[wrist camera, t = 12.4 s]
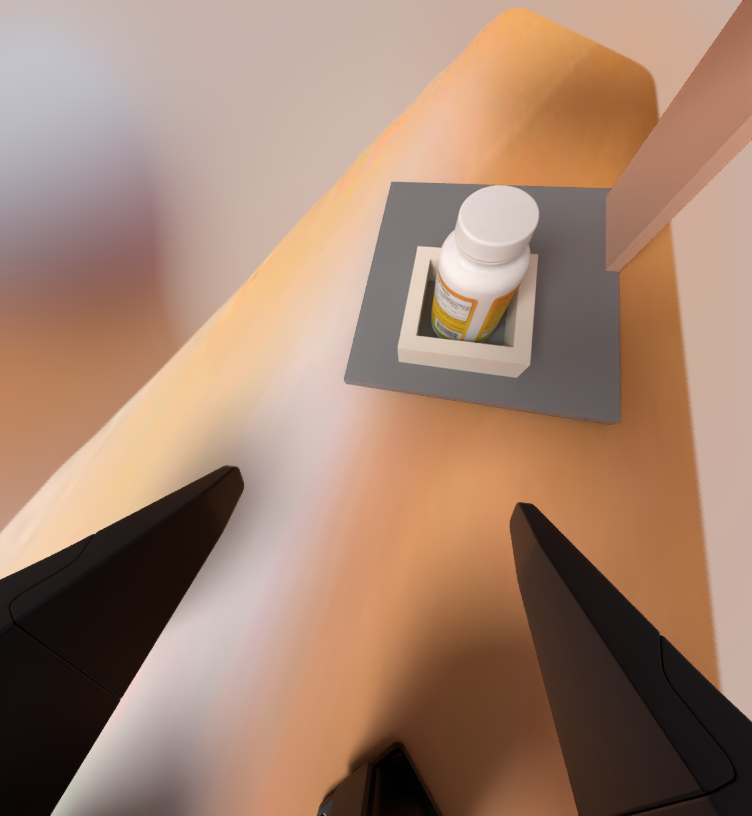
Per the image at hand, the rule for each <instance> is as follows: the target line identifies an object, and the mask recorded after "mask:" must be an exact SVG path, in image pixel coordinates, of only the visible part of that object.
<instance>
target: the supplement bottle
mask: <svg viewBox="0 0 752 816" xmlns="http://www.w3.org/2000/svg"><path fill="white" fill-rule="evenodd" d="M538 220H539V209H538V206H537V204H536V202H535V200H534V199H533V198H532V197H531V196H530V195H529V194H527V193H526V192H524V191H523V190H521V189H518V188H515V187H512V186H505V185H494V186H489V187H485V188H482V189H480V190H478V191H476V192H474V193H473V194H471V195H470V196H469V197H468V198H467V199H466V200H465V201H464V202H463V204H462V206H461V208H460V211H459V214H458V219H457V223H456V227H455V230H454V231H453V232H451V233H450V235H449V236H448V237H447V238H446V240H445V241H444V243H443V245H442V248H441V251H440V255H439V260H438V268H437V276H436V284H435V291H434V299H433V306H432V314H431V323H432V327H433V330H434V331H435V333H436V334H437V336H438V337H439V338H440V339H448V340H457V341H465V342H473V343H482V342H483V341H485V340H486V339H487V338H488V337H490V335H491V334H492V333H493V331H494V330H495V328H496V326H497V324H498V323H499V321H500V319H501V317H502V315H503V314H504V312H505V310H506V308H507V307H508V305H509V303H510V301H511V300H512V298H513V296H514V294H515V293H516V291H517V289H518V287H519V286H520V284H521V282H522V280H523V278H524V276H525V274H526V272H527V270H528V267H529V264H530V257H531V254H530V248H529V242H530V240H531V237H532V235H533V233H534V231H535V229H536V227H537V224H538Z"/></svg>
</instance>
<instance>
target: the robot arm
mask: <svg viewBox="0 0 752 816" xmlns="http://www.w3.org/2000/svg"><path fill="white" fill-rule="evenodd" d="M243 490H244V482H243V479H242V476H241V472H240V470H239V468H238V467H236V466H229V465H226V466H223V467H221V468H219V469H217V470H215V471H214V472H212V473H210V474H208V475H206V476H204V477H202V478H200V479H198V480H196V481H194V482H192V483H190V484H189V485H187V486H185V487H183V488H181V489H179V490H177V491H175V492H173V493H171V494H169V495H167V496H165V497H164V498H162V499H160V500H158V501H156V502H154V503H152V504H150V505H148V506H146V507H144V508H142V509H140V510H139V511H137V512H135V513H133V514H131V515H129V516H127V517H125V518H123V519H121V520H119V521H117V522H115V523H113V524H112V525H110V526H108V527H106V528H104V529H102V530H100V531H98V532H97V533H96V534H92V535H90V536H88V537H86V538H85V539H83V540H81V541H79V542H77V543H75V544H73V545H71V546H69V547H67V548H65V549H63V550H61V551H59V552H57V553H55V554H53V555H51V556H49V557H47V558H45V559H43V560H41V561H39V562H37V563H35V564H32V565H30V566H28V567H26V568H24V569H22V570H20V571H18V572H16V573H13V574H11V575H9V576H7V577H5V578H3V579H1V580H0V816H50V815H51V814H52V812H53V810H54V809H55V807H56V805H57V804H58V802H59V800H60V799H61V797H62V795H63V794H64V792H65V791H66V789H67V787H68V786H69V784H70V782H71V781H72V779H73V777H74V776H75V774H76V773H77V771H78V769H79V768H80V766H81V764H82V763H83V761H84V759H85V758H86V756H87V755H88V753H89V751H90V750H91V748H92V746H93V745H94V743H95V741H96V740H97V738H98V736H99V735H100V733H101V732H102V730H103V728H104V727H105V725H106V723H107V722H108V720H109V718H110V717H111V715H112V714H113V712H114V710H115V709H116V707H117V705H118V704H119V702H120V699H121V698H122V697H123V695H124V694H125V692H126V690H127V689H128V687H129V685H130V684H131V682H132V680H133V679H134V677H135V676H136V674H137V672H138V671H139V669H140V667H141V666H142V664H143V662H144V661H145V659H146V658H147V656H148V654H149V653H150V651H151V649H152V648H153V646H154V644H155V643H156V641H157V639H158V638H159V636H160V635H161V633H162V631H163V630H164V628H165V626H166V625H167V623H168V621H169V620H170V618H171V617H172V615H173V613H174V612H175V610H176V608H177V607H178V605H179V603H180V602H181V600H182V599H183V597H184V595H185V594H186V592H187V590H188V589H189V587H190V585H191V584H192V582H193V580H194V579H195V577H196V576H197V574H198V572H199V571H200V569H201V567H202V566H203V564H204V562H205V561H206V559H207V558H208V556H209V554H210V553H211V551H212V549H213V548H214V546H215V544H216V543H217V541H218V540H219V538H220V536H221V534H222V533H223V531H224V529H225V527H226V525H227V523H228V521H229V519H230V517H231V515H232V513H233V511H234V509H235V507H236V504H237V502H238V500H239V498H240V496H241V494H242V492H243ZM510 533H511V540H512V546H513V553H514V560H515V566H516V573H517V579H518V584H519V588H520V592H521V596H522V600H523V604H524V607H525V611H526V615H527V619H528V623H529V627H530V630H531V634H532V638H533V642H534V646H535V650H536V653H537V657H538V661H539V665H540V669H541V673H542V676H543V680H544V684H545V688H546V692H547V696H548V699H549V703H550V707H551V711H552V715H553V719H554V722H555V726H556V730H557V734H558V738H559V742H560V745H561V749H562V753H563V757H564V761H565V765H566V768H567V772H568V776H569V780H570V784H571V788H572V791H573V795H574V799H575V803H576V807H577V811H578V815H579V816H752V722H751V721H750V720H749V719H748V718H747V717H746V716H745V715H744V714H743V713H742V712H740V710H739V709H738V708H737V707H735V706H734V705H733V704H732V703H731V702H730V701H729V700H728V699H727V698H726V697H725V696H724V695H723V694H722V693H721V692H720V691H718V690H717V689H716V688H715V687H714V686H713V685H712V684H711V683H710V682H709V681H708V680H707V679H706V678H705V677H704V676H703V675H702V674H701V673H700V672H699V671H698V670H697V669H696V668H695V667H694V666H693V665H692V664H691V663H690V662H689V661H688V660H687V659H686V658H685V657H684V656H683V655H682V654H681V653H680V652H679V651H678V650H677V649H676V648H675V647H674V646H673V645H672V644H671V643H670V642H669V641H668V640H667V639H666V638H665V637H664V636H662V635H660V633H659V631H658V630H657V629H656V628H655V627H654V626H653V625H652V624H651V623H650V622H649V621H648V620H647V619H646V618H645V617H644V616H643V615H642V614H641V613H640V612H639V611H638V610H637V609H636V608H635V607H634V606H633V605H632V604H631V603H630V602H629V601H628V600H627V599H626V598H625V597H624V596H623V595H622V594H621V593H620V592H619V590H618V589H617V588H616V587H615V586H614V585H613V584H612V583H611V582H610V581H609V580H608V579H607V578H606V577H605V576H604V575H603V574H602V573H601V572H600V571H599V570H598V569H597V568H596V567H595V566H594V565H593V564H592V563H591V562H590V561H589V560H588V559H587V558H586V557H585V556H584V555H583V554H582V553H581V552H580V551H579V550H578V549H577V548H576V547H575V546H574V545H573V544H572V543H571V542H570V541H569V540H568V539H567V538H566V537H565V536H564V535H563V534H562V533H561V532H560V531H559V530H558V529H557V528H556V527H555V526H554V525H553V524H552V523H551V522H550V521H549V520H548V519H547V518H546V517H545V516H544V515H543V514H542V513H541V511H540V510H539V509H538V508H537V507H536V506H534V505H533V504H530V503H522V502H518V503H517V504H516V506H515V508H514V511H513V514H512V516H511V519H510ZM397 753H399V754H401V755H402V756H401V757H400V758H398V757H396V755H395V754H397ZM323 813H326V814H327V815H328V816H442V814H441V812H440V811H439V809H438V807H437V805H436V803H435V801H434V800H433V798H432V796H431V794H430V792H429V790H428V788H427V787H426V785H425V783H424V781H423V779H422V777H421V776H420V774H419V772H418V770H417V768H416V766H415V765H414V763H413V761H412V759H411V757H410V755H409V754H408V752H407V750H406V748H405V746H404V745H403V744H402V743H400V742H396V743H394V744H393V745H391V746H390V747H389V748H388V749H387V750H385V751H384V752H383V753H382V754H380V755H379V756H378V757H377V758H376V759H374V760H373V761H368V762H366V763H365V764H364V765H362V766H361V767H360V768H359V769H357V770H356V771H355V772H354V773H353V774H351V775H350V776H349V777H348V778H346V779H345V780H344V781H343V782H341V783H340V784H339V785H338V786H337V787H336V790H335V792H334V793H332V794H331V795H330V796H329V797H328V798H326V799H325V800H324V801H323V802H322V803H321V804H320V806H319V810H318V813H317V816H324V815H323Z"/></svg>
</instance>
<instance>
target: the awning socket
mask: <svg viewBox="0 0 752 816" xmlns="http://www.w3.org/2000/svg"><path fill="white" fill-rule="evenodd" d="M751 140H752V0H742V2H741V3H740V5H739V6H738V8H737V9H736V11H735V12H734V13H733V15H732V16H731V18H730V19H729V21H728V22H727V24H726V25H725V26H724V28H723V29H722V31H721V32H720V34H719V35H718V36H717V38H716V39H715V41H714V42H713V44H712V45H711V47H710V48H709V49H708V51H707V52H706V54H705V55H704V57H703V58H702V59H701V61H700V62H699V64H698V66H697V67H696V68H695V70H694V71H693V73H692V74H691V76H690V77H689V78H688V80H687V81H686V82H685V84H684V85H683V87H682V88H681V90H680V91H679V93H678V94H677V95H676V97H675V99H674V100H673V101H672V103H671V104H670V106H669V107H668V108H667V110H666V111H665V113H664V114H663V116H662V117H661V118H660V120H659V121H658V123H657V124H656V126H655V127H654V129H653V130H652V131H651V133H650V134H649V136H648V137H647V139H646V140H645V141H644V143H643V144H642V146H641V147H640V149H639V150H638V152H637V153H636V154H635V156H634V157H633V159H632V160H631V162H630V163H629V165H628V166H627V167H626V169H625V170H624V172H623V173H622V175H621V176H620V177H619V179H618V180H617V182H616V183H615V185H614V186H613V188H612V189H607V188H575V187H543V186H512V187H515V188H518V189H521V190H523V191H524V192H526V193H527V194H529V195H530V196H531V197H532V198H533V199H534V200H535V202H536V204H537V206H538V209H539V220H538V224H537V227H536V229H535V231H534V233H533V235H532V237H531V240H530V242H529V248H530V254H531V257H530V264H529V267H528V270H527V272H526V274H525V276H524V278H523V280H522V282H521V284H520V286H519V287H518V289H517V291H516V293H515V294H514V296H513V298H512V300H511V301H510V303H509V305H508V307H507V308H506V310H505V312H504V314H503V315H502V317H501V319H500V321H499V323H498V324H497V326H496V328H495V330H494V331H493V333H492V334H491V335H490V337H488V338H487V339H486V340H485V341H483V342H482V343H473V342H465V341H457V340H448V339H440V338H439V337H438V336H437V334H436V333H435V331H434V330H433V327H432V323H431V314H432V306H433V299H434V291H435V284H436V276H437V268H438V260H439V255H440V251H441V248H442V245H443V243H444V241H445V240H446V238H447V237H448V236H449V235H450V233H451V232H453V231H454V230H455V227H456V223H457V219H458V214H459V211H460V208H461V206H462V204H463V202H464V201H465V200H466V199H467V198H468V197H469V196H470V195H471V194H473V193H474V192H476V191H478V190H480V189H482V188H485V187H489V186H494V185H478V184H446V183H413V182H391V186H390V190H389V194H388V198H387V203H386V207H385V211H384V215H383V219H382V223H381V227H380V232H379V236H378V240H377V244H376V248H375V252H374V257H373V261H372V265H371V269H370V273H369V277H368V281H367V286H366V290H365V294H364V298H363V302H362V306H361V310H360V315H359V319H358V323H357V327H356V331H355V335H354V340H353V344H352V348H351V352H350V356H349V360H348V364H347V369H346V373H345V377H344V381H345V382H346V384H352V385H358V386H364V387H371V388H377V389H384V390H390V391H397V392H403V393H410V394H416V395H422V396H429V397H435V398H442V399H448V400H455V401H461V402H468V403H474V404H481V405H487V406H493V407H500V408H506V409H513V410H519V411H526V412H532V413H539V414H545V415H551V416H558V417H564V418H571V419H577V420H584V421H590V422H597V423H603V424H610V425H611V424H615V423H618V422H620V327H619V271H620V270H621V269H622V268H623V267H624V266H625V265H626V264H627V263H628V262H629V261H630V260H631V259H632V258H633V257H634V256H635V255H636V254H637V253H638V252H639V251H640V250H641V249H642V248H643V247H644V246H645V245H646V244H647V243H648V242H649V241H650V240H651V239H652V238H653V237H654V236H655V235H656V234H657V233H658V232H659V231H660V230H661V229H662V228H663V227H664V226H665V225H666V224H667V223H668V222H669V221H670V220H671V219H672V218H673V217H674V216H675V215H676V214H677V213H678V212H679V211H680V210H681V209H682V208H683V207H684V206H685V205H687V203H688V202H690V201H691V200H692V199H693V197H695V195H697V194H698V193H699V191H701V189H703V188H704V186H706V185H707V183H709V181H711V180H712V179H713V178H714V177H715V176H716V175H717V174H718V173H719V172H720V171H721V169H723V168H724V167H725V166H726V165H727V164H728V163H729V162H730V161H731V160H732V159H733V158H734V157H735V156H736V155H737V154H738V153H739V152H740V151H741V150H742V149H743V148H744V147H745V146H746V145H747V144H748V143H749V142H750V141H751ZM505 186H510V185H505Z"/></svg>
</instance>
